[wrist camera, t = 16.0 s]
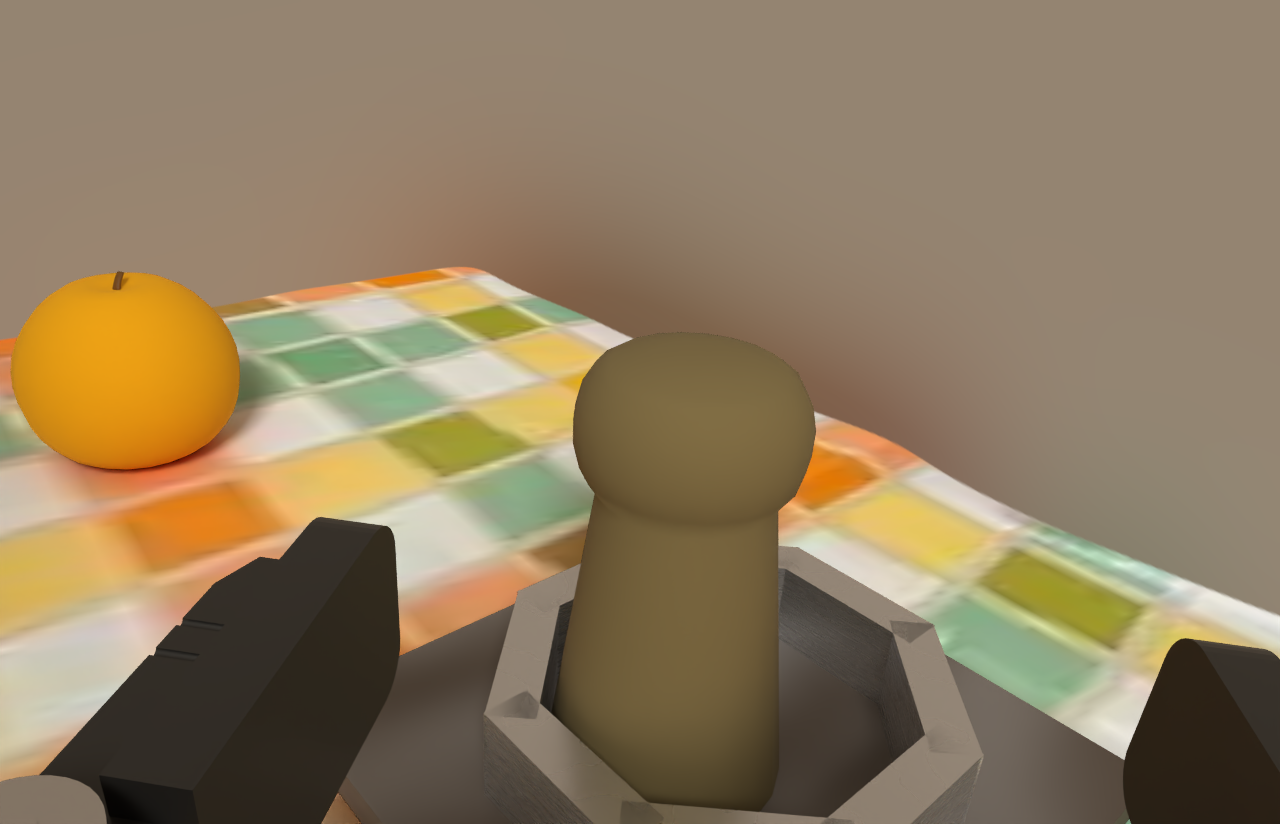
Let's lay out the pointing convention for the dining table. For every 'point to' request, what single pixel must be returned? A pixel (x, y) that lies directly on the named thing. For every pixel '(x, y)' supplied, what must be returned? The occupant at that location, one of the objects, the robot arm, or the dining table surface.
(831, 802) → the holder plate
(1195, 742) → the robot arm
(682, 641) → the cork
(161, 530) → the dining table surface
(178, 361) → the orange
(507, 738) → the steel ring
